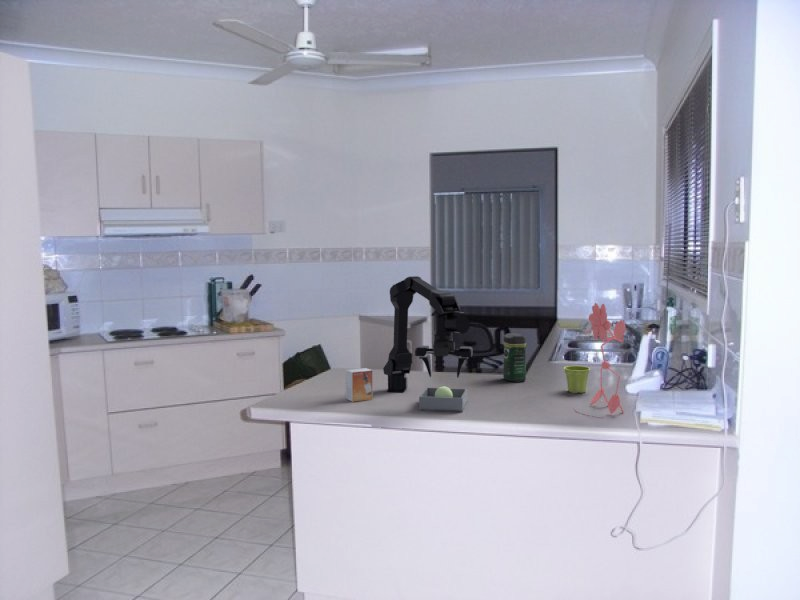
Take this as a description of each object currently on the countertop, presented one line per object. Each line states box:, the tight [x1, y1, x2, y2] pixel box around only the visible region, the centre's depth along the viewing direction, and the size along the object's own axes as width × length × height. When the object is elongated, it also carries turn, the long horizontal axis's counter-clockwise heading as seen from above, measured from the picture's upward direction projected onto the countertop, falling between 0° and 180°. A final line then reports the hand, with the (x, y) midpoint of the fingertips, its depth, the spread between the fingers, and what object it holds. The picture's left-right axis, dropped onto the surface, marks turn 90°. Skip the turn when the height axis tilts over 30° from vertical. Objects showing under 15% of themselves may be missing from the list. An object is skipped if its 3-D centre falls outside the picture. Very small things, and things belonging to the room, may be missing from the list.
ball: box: [435, 385, 453, 398], centre depth 225 cm, size 6×6×6 cm
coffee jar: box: [502, 332, 527, 383], centre depth 265 cm, size 10×8×19 cm
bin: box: [418, 386, 468, 413], centre depth 225 cm, size 14×14×4 cm
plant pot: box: [563, 365, 591, 394], centre depth 244 cm, size 9×9×9 cm
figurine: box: [573, 302, 627, 419], centre depth 216 cm, size 15×26×35 cm, turn 11°
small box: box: [345, 367, 374, 403], centre depth 235 cm, size 8×6×10 cm
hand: (444, 377), depth 224 cm, fingers open, 9 cm apart
